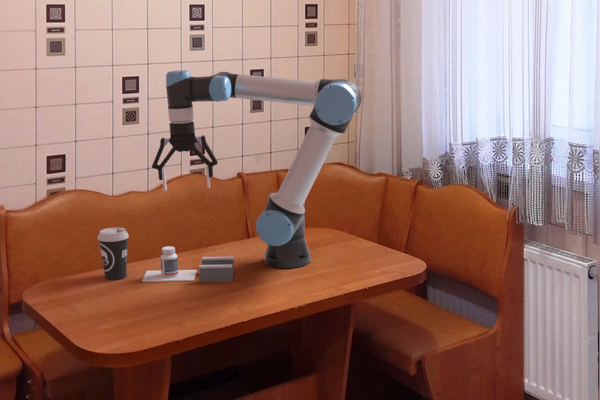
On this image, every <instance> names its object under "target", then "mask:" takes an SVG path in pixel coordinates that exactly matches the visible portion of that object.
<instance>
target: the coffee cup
mask: <svg viewBox="0 0 600 400" xmlns="http://www.w3.org/2000/svg"><path fill="white" fill-rule="evenodd" d="M128 238H130V237H129V233H128V231H127V230H126V228H123V227H108V228H104V229H103V228H102V229H101V230H99V234H98V235H97V241H98V242H99V248H100V253H101V259H102V260H101V261H102V266H103V271H104V277H105V279H106V280H108V281H119V280H123V279H125V278H126V277H127V270H128V269H127V267H128V263H127V260H128Z"/></svg>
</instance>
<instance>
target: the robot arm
mask: <svg viewBox="0 0 600 400" xmlns="http://www.w3.org/2000/svg"><path fill="white" fill-rule="evenodd" d="M165 85H166V86H165V89H166V97H167V99H166V100H167V108H168V110H167V111H168V112H167V113H168V121H169V122H170V123H169V134H170V137H169V138H165V137H161V138H160V142H159V143H160V144H159V145H160V146H159V148H158V150H157V152H156V155H155V157H154V160H153V162H152V165H151V168H152V169H155V170H157V171H158V180H159V181H162V188H163V189H162V191H163V192H167V189H168V188H167V177H166V168H164V166H165V165H166V164H167V163H168V162H169V160H170V158H171V157H172V156H173V155H174V154H175V152H178V153H182V152H186V153H187V152H190V151H192V152H193V153H194V154H195V155H196V156H197V157H199V159H200V160H201V161H202V162H203V163H204V164H205V165H206V166H205V174H206V177H205V178H206V189H210V188H211V180H210V178H213V175H214V174H213V173H214V171H213V167H214V166H217V165H218V164H219V163H218V159H217V158H216V156H215V155H214V153H213V151H212V149H211V148H210V146H209V144H208V142H207V140H206V135H204V134H203V135H201V136H196V132H195V122H194V121H193V120H194V105H193V102H195V103H196V102H223V101H224V102H225V101H229V99H230V98H232V99H245V100H254V101H255V100H256V101H264V102H273V103H280V104H282V103H283V104H291V105H292V104H293V105H302V106H311V107H313V108H312V110H311V112H310V114H309V116H308V118H309V120H310V125H309V128H308V130H307V132H306V134H305V135H304V138H303V140H302V142H301V144H300V146H299V148H298V150H297V152H296V154H295V156H294V158H293V161H292V163H291V165H290V167H289V169H288V171H287V173H286V175H285V177H284V178H283V181H282V183H281V185H280V187H279V188H278V191H277V192H272V193H269V194H268V198H267V202H266V205H265V207H264V209H263V210H262V213H260V215H258V217H257V219H256V223H255V230H256V234H257V236H258V237H259V238H260V240H261V241H262V242H263V243H265V244H266V246H267V247H266V249H265V253H264V257H263V258H264V264H266V265H267V266H269V267H273V268H279V269H293V268H295V269H296V268H299V267H304V266H306V265H308V264H310V263H311V253H310V250H309V246H308V243H307V240H306V235H305V227H306V226H305V225H306V224H305V212H306V208H305V204H306V199H307V197H308V196H309V194H310V192H311V189H312V187H313V186H314V183H315V182H316V179H317V177H318V175H319V173H320V171H321V170H322V167H323V166H324V163H325V161H326V159H327V157H328V155H329V153H330V151H331V150H332V148H333V145H334V144H335V141H336V139H337V137H339V136H342V135H345V133H346V131H347V129H348V127H349V124H350V123H351V121H352V118H353V116H354V114H355V113H356V112H357V111H358V109H360V106H361V104H362V94H361V91H360V88H359V87H358V86H357V84H356V83H354V82H353V81H351V80H349V79H346V78H345V79H344V78H342V79H341V78H337V79H328V78H327V79H325V78H319V79H318V80H317V81H311V80H301V79H294V78H293V79H292V78H291V79H290V78H282V77H269V76H260V75H259V76H258V75H250V74H241V73H240V74H239V73H231V72H229V71H220V72H216V73H215V74H212V75H209V76H192V75H191V71H189V70H187V69H185V70H171V71H167V72H166V75H165ZM197 141H198V142H199V144H202V146H203V148H204V150H205V152H206V153H207V155H208V157H209V158H210V160H211V161H210V160H209V158H208V157H207V156H206V155H205V154H204V153H202V151H201V150H200V149H199V148H198V147H197V146H196V145H195V144H196V143H197ZM168 143H169V144H170V145H171V146H172V148H171V149H170V150H169V152H168V153H166V156H165V157H164V158H163V160H161V162H160V163H159V161H160V158H161V156H162V153H163V151H164V148H165V146H167V145H168ZM158 163H159V164H158Z"/></svg>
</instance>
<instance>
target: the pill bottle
mask: <svg viewBox="0 0 600 400" xmlns="http://www.w3.org/2000/svg"><path fill="white" fill-rule="evenodd" d="M161 253H162V254H161V255H160V270H161V274H162V276H163V277H175V276H177V275H178V270H179V261H178V259H179V258H178V255H177V253H176V247H174V246H172V245H171V246H163V247H162V248H161Z"/></svg>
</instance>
